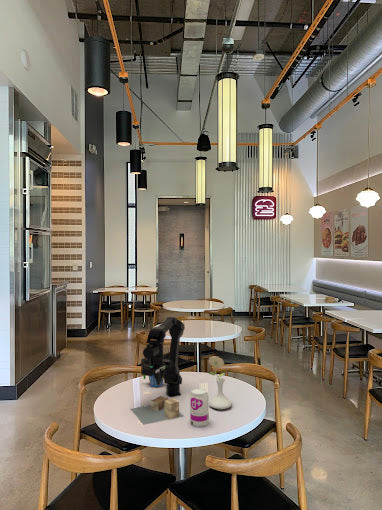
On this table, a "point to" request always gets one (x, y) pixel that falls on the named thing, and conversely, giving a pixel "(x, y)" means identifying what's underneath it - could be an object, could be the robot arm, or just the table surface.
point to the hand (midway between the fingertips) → (158, 384)
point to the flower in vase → (219, 386)
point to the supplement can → (199, 408)
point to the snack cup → (153, 381)
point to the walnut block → (158, 403)
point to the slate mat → (151, 415)
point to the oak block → (171, 408)
